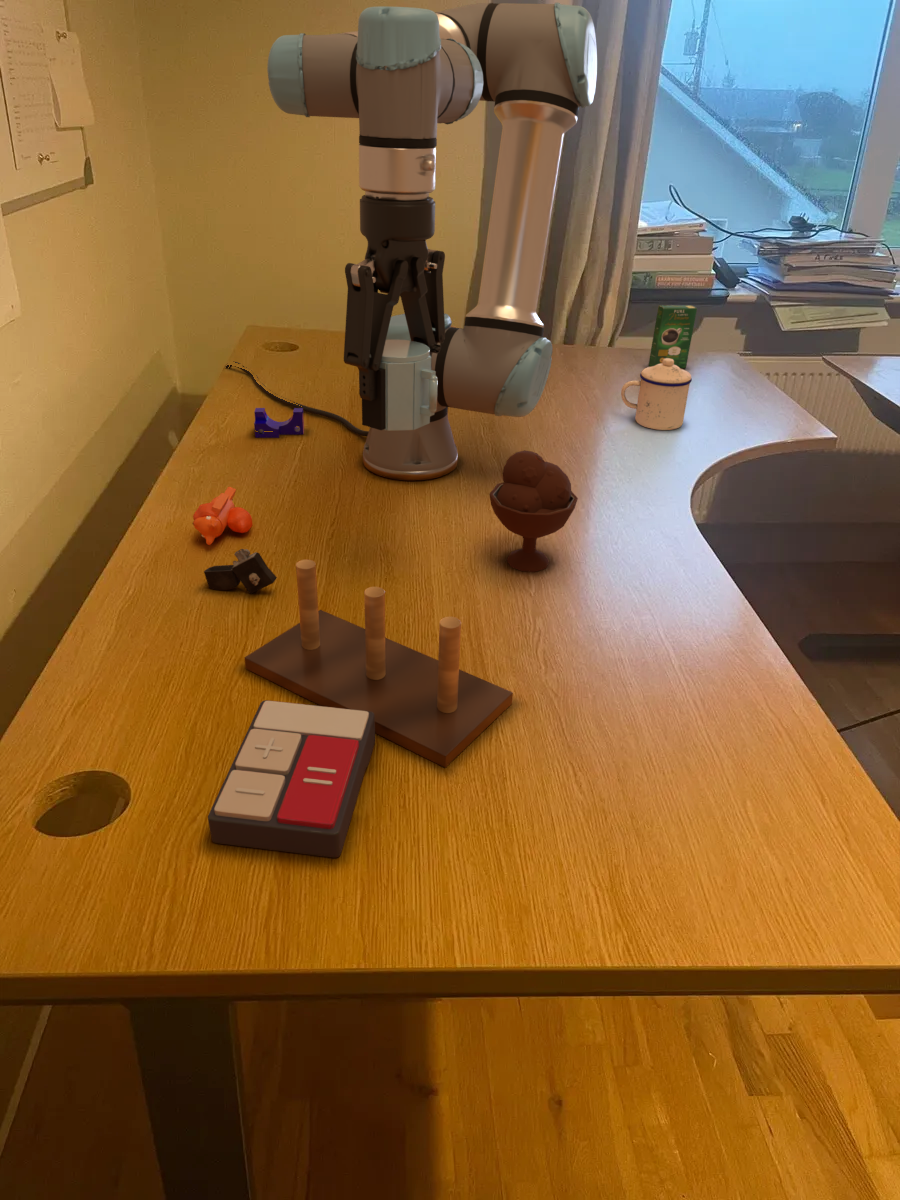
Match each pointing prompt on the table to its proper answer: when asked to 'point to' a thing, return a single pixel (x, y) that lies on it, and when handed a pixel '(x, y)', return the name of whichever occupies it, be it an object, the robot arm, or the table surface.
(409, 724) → the peg rack
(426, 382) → the blue cup
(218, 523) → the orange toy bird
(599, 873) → the table surface
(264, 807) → the calculator
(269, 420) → the cable holder
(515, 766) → the table surface
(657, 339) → the coffee box
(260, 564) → the lighter
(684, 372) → the teacup with lid
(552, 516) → the ice cream bowl
